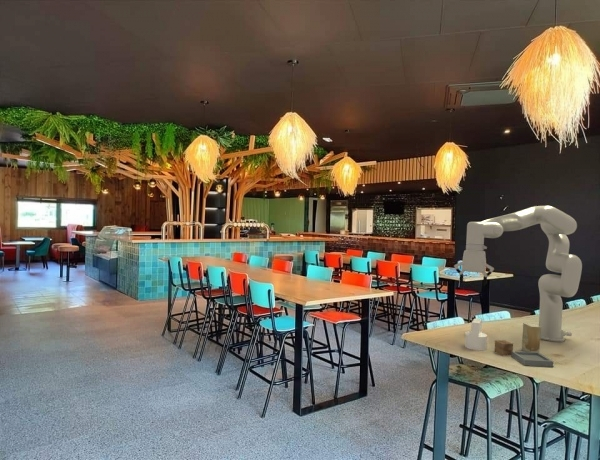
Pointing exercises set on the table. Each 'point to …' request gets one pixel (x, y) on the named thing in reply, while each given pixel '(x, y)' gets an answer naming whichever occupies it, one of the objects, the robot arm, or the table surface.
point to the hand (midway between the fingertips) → (472, 284)
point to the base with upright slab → (476, 337)
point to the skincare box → (531, 337)
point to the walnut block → (503, 347)
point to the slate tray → (532, 358)
